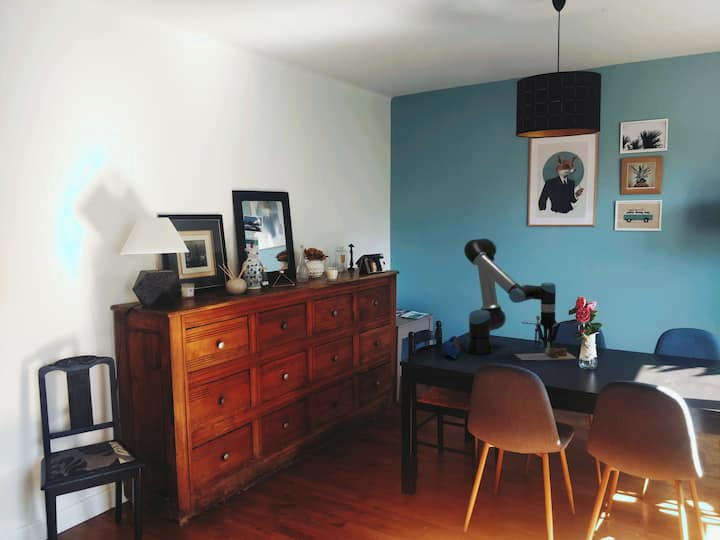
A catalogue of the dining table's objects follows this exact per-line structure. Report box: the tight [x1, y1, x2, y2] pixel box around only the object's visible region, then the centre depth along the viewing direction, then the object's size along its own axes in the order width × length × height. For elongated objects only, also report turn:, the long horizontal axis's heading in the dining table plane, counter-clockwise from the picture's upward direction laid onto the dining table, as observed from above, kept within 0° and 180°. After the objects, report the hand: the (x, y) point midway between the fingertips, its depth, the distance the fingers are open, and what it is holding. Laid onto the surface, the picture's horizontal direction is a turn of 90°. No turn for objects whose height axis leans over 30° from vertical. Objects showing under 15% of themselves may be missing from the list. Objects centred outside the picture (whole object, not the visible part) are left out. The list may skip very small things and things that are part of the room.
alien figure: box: [521, 315, 544, 349], centre depth 331 cm, size 20×5×19 cm, turn 62°
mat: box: [514, 352, 577, 361], centre depth 311 cm, size 30×12×1 cm, turn 93°
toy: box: [442, 335, 461, 360], centre depth 315 cm, size 11×10×15 cm
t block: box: [544, 346, 568, 358], centre depth 311 cm, size 10×10×4 cm
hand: (547, 353), depth 310 cm, fingers closed
